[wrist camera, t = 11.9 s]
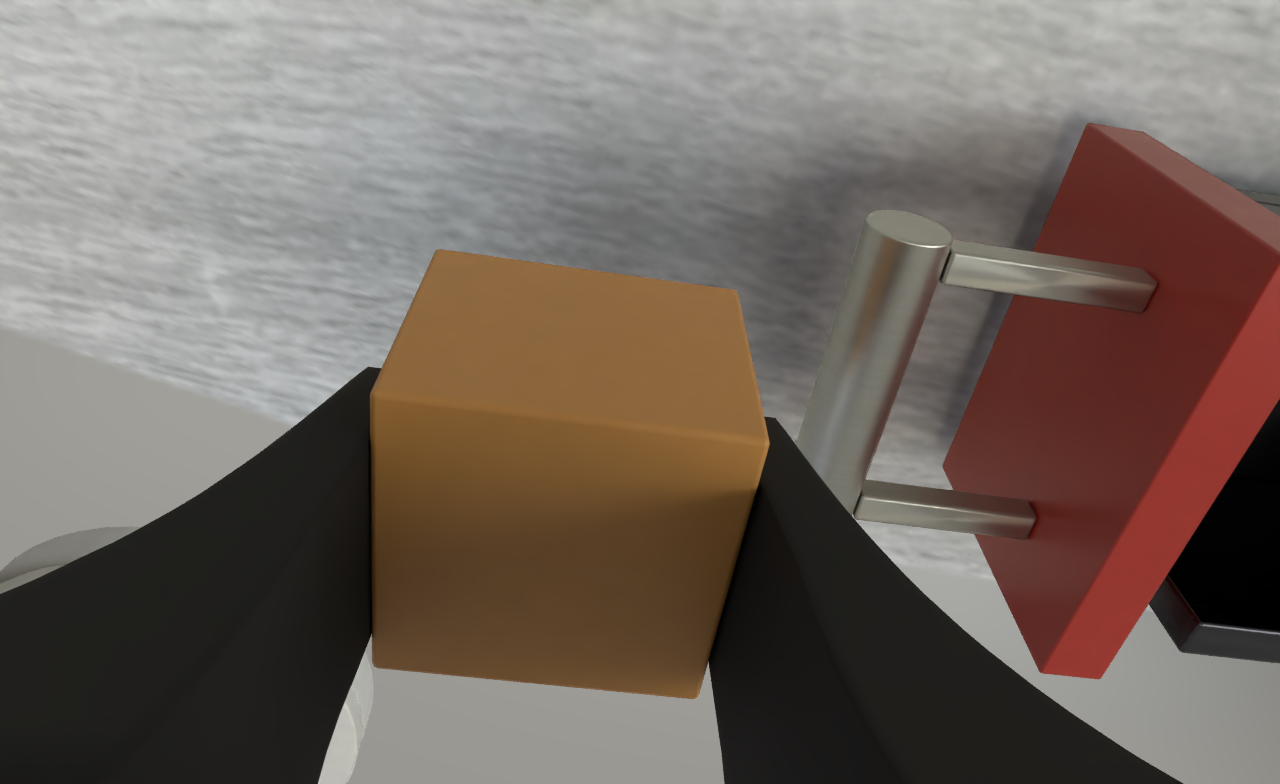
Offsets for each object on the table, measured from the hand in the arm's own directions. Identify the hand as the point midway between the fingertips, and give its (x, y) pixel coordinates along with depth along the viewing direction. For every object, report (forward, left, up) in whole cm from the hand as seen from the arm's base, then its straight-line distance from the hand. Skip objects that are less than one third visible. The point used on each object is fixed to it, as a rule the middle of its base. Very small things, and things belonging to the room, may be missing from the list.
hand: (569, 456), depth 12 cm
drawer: (-1, -12, -8) cm, 14 cm away
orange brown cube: (0, 0, -1) cm, 1 cm away
